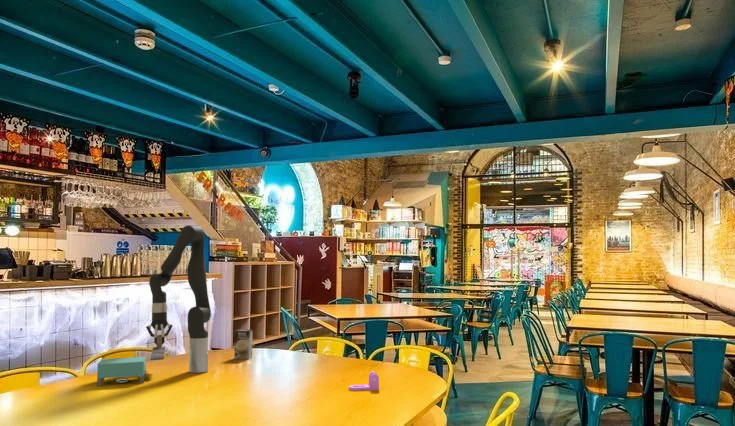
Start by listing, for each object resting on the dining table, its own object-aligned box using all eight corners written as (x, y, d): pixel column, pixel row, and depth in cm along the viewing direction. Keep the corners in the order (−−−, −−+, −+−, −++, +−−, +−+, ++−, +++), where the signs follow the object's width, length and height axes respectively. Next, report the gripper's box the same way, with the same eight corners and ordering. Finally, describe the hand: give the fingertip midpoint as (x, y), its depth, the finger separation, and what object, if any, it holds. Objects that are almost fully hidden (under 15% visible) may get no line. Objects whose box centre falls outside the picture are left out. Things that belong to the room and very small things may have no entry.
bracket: (377, 387, 267) (376, 371, 268) (378, 390, 262) (378, 374, 262) (348, 388, 266) (348, 372, 266) (349, 391, 260) (349, 375, 260)
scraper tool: (154, 345, 316) (153, 334, 316) (165, 344, 318) (165, 333, 318) (150, 360, 289) (150, 348, 289) (163, 359, 291) (163, 347, 291)
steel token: (128, 381, 285) (128, 378, 285) (127, 383, 280) (127, 380, 280) (117, 381, 283) (117, 379, 283) (115, 384, 278) (115, 381, 278)
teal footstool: (145, 377, 291) (145, 356, 291) (143, 383, 278) (143, 361, 279) (101, 380, 285) (101, 359, 286) (97, 386, 272) (97, 364, 273)
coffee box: (233, 359, 337) (233, 330, 338) (237, 357, 344) (237, 329, 345) (249, 359, 336) (249, 330, 337) (252, 357, 343) (252, 329, 344)
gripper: (173, 309, 319) (173, 342, 318) (146, 311, 316) (146, 344, 314) (173, 311, 312) (173, 344, 311) (144, 312, 308) (144, 346, 307)
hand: (159, 344), depth 313 cm, fingers closed on scraper tool, 2 cm apart
